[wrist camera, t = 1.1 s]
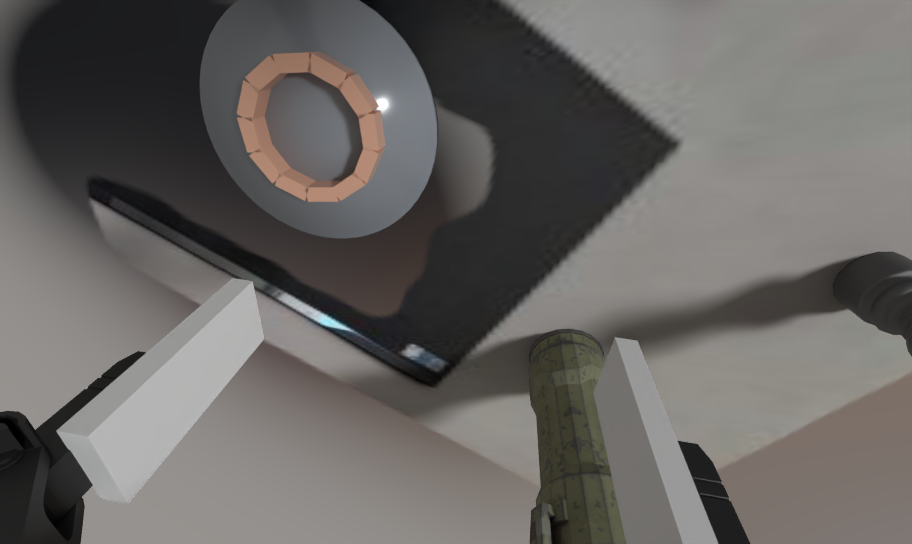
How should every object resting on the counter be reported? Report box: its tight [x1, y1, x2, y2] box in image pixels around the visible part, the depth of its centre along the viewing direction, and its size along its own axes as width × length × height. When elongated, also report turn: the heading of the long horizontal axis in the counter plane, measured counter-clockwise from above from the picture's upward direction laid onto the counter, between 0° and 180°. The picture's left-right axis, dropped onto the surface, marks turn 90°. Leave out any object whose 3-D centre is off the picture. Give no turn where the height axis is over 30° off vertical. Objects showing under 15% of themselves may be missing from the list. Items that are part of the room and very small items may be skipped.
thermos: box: [529, 329, 626, 544], centre depth 33 cm, size 9×12×35 cm
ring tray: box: [200, 0, 438, 238], centre depth 36 cm, size 22×22×3 cm
